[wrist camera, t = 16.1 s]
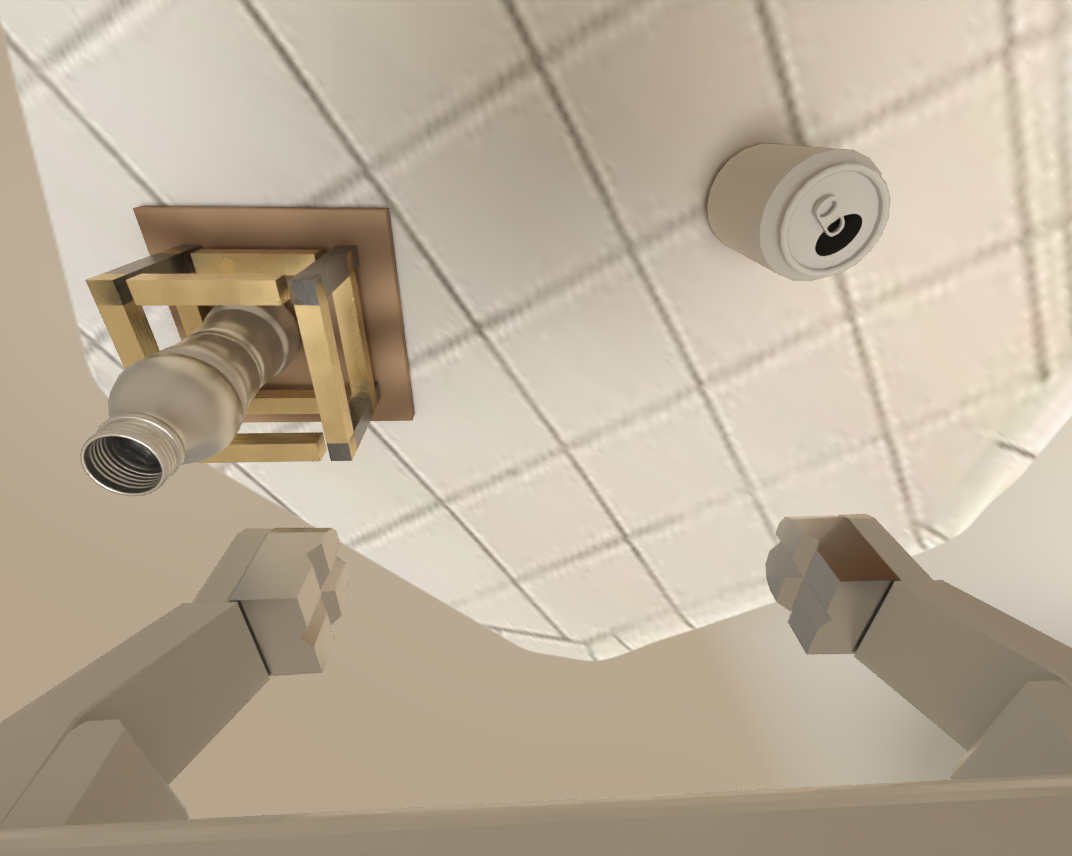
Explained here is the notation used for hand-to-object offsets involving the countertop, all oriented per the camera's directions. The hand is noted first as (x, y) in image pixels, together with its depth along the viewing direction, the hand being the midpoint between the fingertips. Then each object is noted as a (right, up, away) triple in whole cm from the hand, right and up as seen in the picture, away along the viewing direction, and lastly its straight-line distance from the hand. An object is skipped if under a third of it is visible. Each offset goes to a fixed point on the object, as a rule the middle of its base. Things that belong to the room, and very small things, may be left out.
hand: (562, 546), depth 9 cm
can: (+16, +20, +30) cm, 40 cm away
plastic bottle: (-23, +11, +32) cm, 41 cm away
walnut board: (-21, +11, +33) cm, 41 cm away
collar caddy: (-21, +11, +32) cm, 40 cm away
